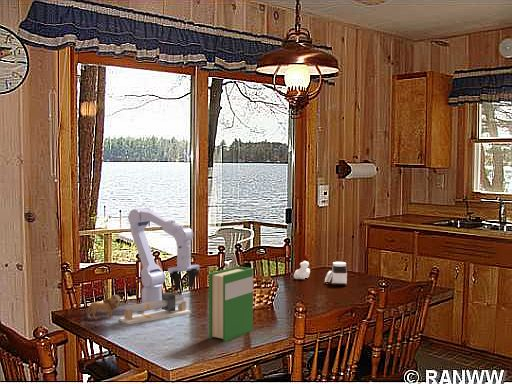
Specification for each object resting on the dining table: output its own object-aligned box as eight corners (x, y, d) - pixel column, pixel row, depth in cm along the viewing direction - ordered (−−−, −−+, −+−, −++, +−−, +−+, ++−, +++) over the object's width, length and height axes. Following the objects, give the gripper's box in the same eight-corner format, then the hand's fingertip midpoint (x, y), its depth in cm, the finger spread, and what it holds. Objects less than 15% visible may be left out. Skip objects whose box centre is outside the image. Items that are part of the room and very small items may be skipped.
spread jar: (347, 286, 313) (348, 264, 313) (325, 286, 313) (326, 264, 313) (344, 282, 325) (345, 260, 325) (323, 282, 325) (323, 260, 325)
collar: (161, 308, 257) (161, 293, 256) (168, 307, 258) (168, 292, 258) (169, 311, 252) (169, 296, 252) (175, 310, 254) (175, 295, 253)
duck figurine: (296, 284, 329) (306, 269, 324) (287, 274, 333) (297, 259, 328) (309, 281, 338) (319, 267, 332) (301, 271, 342) (311, 257, 336)
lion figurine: (118, 314, 255) (118, 293, 255) (121, 317, 251) (121, 295, 250) (82, 318, 249) (82, 296, 248) (85, 321, 244) (85, 299, 244)
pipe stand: (119, 320, 246) (119, 304, 245) (181, 309, 264) (181, 294, 263) (128, 324, 240) (128, 308, 239) (190, 313, 257) (190, 298, 257)
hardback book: (224, 341, 218) (225, 275, 217) (208, 338, 222) (208, 273, 221) (252, 330, 233) (253, 268, 231) (237, 327, 237) (237, 266, 235)
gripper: (173, 259, 251) (173, 291, 252) (203, 255, 260) (203, 287, 261) (165, 256, 257) (165, 288, 257) (194, 253, 265) (194, 284, 266)
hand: (183, 287), depth 259 cm, fingers open, 6 cm apart
